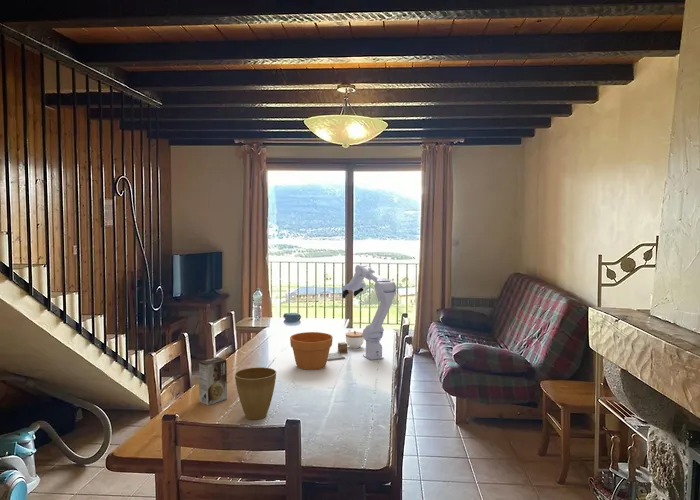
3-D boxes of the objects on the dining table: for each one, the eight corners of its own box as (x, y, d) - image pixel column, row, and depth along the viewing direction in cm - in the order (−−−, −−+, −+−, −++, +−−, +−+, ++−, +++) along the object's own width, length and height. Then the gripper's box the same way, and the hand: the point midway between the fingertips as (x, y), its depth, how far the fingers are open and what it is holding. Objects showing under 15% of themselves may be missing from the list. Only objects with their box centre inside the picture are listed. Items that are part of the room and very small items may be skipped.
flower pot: (326, 373, 231) (326, 342, 230) (284, 370, 235) (284, 340, 234) (336, 361, 251) (336, 333, 251) (297, 359, 256) (297, 331, 255)
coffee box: (217, 395, 199) (217, 356, 199) (227, 399, 195) (227, 359, 194) (198, 401, 192) (198, 361, 192) (207, 405, 188) (207, 364, 187)
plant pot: (278, 408, 186) (278, 366, 185) (273, 423, 171) (273, 378, 171) (239, 408, 186) (239, 366, 185) (230, 424, 171) (230, 378, 170)
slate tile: (345, 358, 257) (345, 357, 257) (327, 360, 253) (327, 359, 253) (338, 354, 266) (338, 352, 266) (320, 355, 262) (320, 354, 262)
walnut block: (347, 352, 270) (347, 343, 269) (340, 353, 268) (340, 344, 268) (344, 351, 273) (344, 342, 273) (337, 351, 272) (337, 342, 271)
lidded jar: (364, 349, 277) (364, 333, 276) (345, 349, 277) (345, 332, 277) (363, 345, 288) (364, 329, 287) (345, 344, 288) (345, 328, 287)
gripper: (364, 273, 282) (356, 289, 290) (342, 277, 274) (335, 292, 283) (369, 283, 278) (361, 298, 286) (348, 286, 270) (340, 302, 279)
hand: (348, 296), depth 284 cm, fingers open, 7 cm apart
